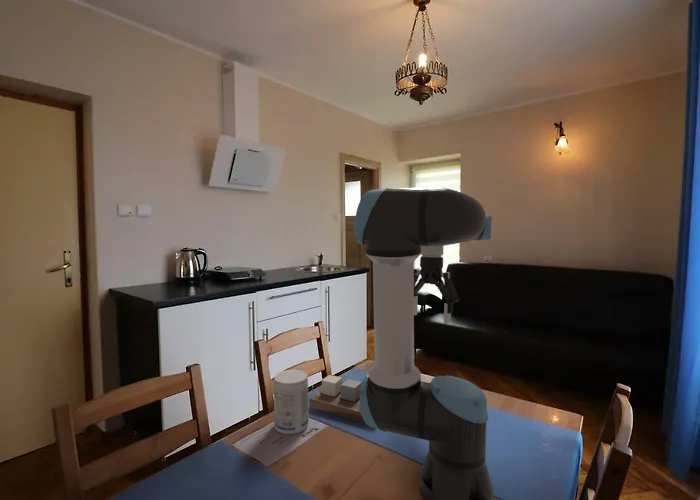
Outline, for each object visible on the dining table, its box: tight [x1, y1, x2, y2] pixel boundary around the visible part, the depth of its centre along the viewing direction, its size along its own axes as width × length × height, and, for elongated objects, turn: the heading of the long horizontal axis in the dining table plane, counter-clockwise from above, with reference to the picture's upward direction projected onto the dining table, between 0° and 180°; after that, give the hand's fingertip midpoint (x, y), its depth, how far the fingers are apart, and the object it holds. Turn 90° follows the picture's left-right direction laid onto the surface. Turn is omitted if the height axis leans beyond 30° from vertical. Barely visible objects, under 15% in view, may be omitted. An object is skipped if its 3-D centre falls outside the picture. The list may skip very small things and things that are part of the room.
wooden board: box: [309, 388, 367, 425], centre depth 114 cm, size 14×22×3 cm, turn 64°
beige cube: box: [321, 374, 343, 398], centre depth 117 cm, size 5×5×4 cm
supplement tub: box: [273, 369, 309, 435], centre depth 102 cm, size 10×10×15 cm
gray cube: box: [341, 378, 362, 403], centre depth 114 cm, size 5×5×4 cm
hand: (429, 319), depth 122 cm, fingers open, 13 cm apart
